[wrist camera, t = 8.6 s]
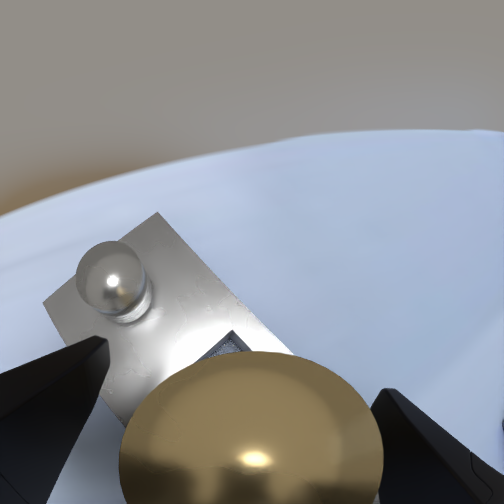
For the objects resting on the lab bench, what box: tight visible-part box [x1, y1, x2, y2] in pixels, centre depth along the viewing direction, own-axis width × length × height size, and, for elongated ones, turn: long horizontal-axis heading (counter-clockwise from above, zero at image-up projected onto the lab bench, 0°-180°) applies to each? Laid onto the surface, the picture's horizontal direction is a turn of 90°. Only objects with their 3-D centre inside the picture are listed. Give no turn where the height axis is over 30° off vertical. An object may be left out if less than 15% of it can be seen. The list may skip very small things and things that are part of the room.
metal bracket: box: [43, 212, 380, 504], centre depth 11 cm, size 23×8×5 cm, turn 44°
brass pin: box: [119, 351, 383, 504], centre depth 8 cm, size 4×4×12 cm
